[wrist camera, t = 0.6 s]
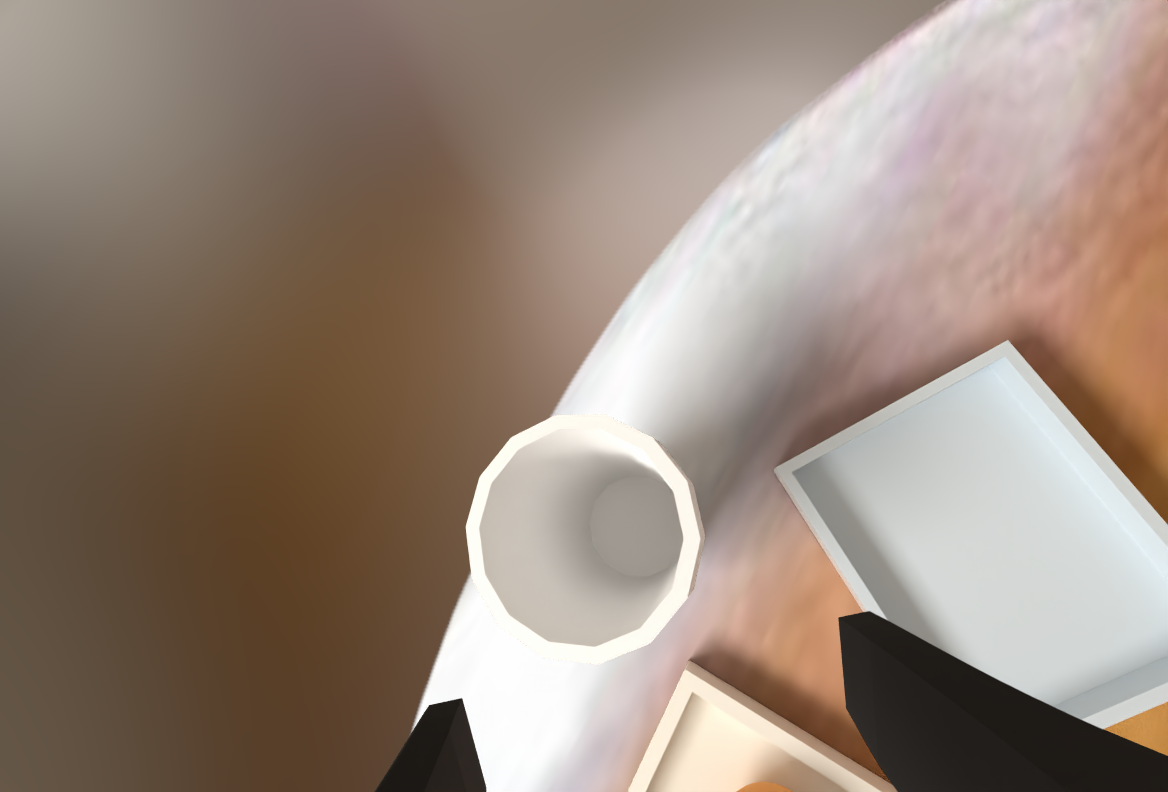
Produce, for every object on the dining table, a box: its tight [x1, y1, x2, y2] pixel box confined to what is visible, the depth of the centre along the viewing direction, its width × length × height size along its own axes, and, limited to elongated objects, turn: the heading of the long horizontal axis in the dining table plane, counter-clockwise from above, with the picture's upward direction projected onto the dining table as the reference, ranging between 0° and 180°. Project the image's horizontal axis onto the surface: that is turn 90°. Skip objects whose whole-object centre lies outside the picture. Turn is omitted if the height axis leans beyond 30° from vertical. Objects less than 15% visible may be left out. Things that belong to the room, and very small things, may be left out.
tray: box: [774, 340, 1168, 729], centre depth 27 cm, size 16×13×3 cm
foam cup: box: [466, 415, 705, 665], centre depth 27 cm, size 10×9×13 cm
